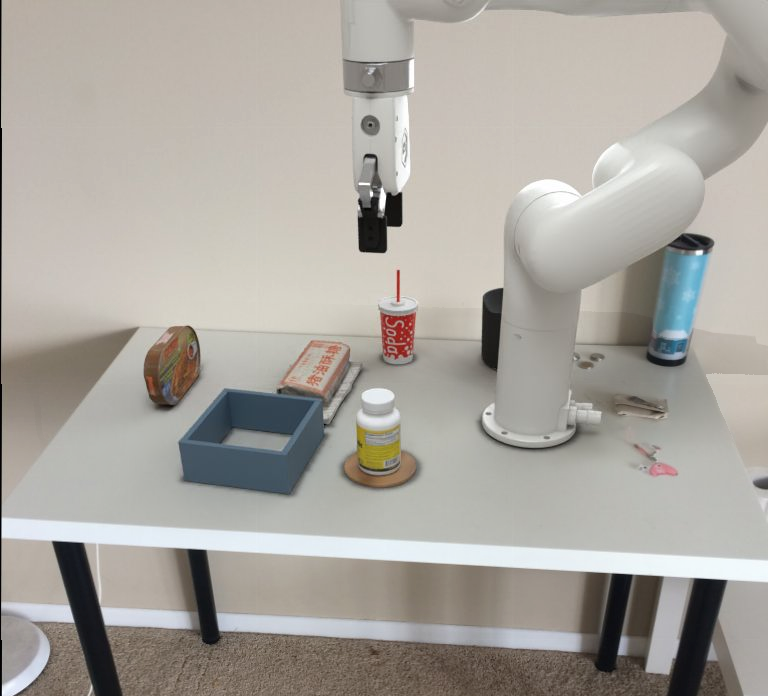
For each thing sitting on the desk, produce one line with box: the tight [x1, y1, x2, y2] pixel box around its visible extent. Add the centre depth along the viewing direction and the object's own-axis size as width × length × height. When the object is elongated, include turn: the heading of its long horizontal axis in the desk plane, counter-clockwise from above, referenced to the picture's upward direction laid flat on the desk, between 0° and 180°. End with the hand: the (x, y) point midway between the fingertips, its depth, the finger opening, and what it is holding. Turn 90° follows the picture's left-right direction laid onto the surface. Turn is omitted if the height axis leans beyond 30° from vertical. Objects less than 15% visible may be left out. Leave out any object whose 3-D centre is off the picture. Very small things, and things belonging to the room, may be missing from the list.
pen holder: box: [481, 287, 504, 370], centre depth 132 cm, size 9×9×10 cm
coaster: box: [343, 450, 417, 489], centre depth 109 cm, size 9×9×1 cm
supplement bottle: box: [355, 387, 402, 475], centre depth 106 cm, size 5×5×10 cm
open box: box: [177, 387, 325, 495], centre depth 110 cm, size 14×15×6 cm
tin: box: [143, 324, 202, 406], centre depth 125 cm, size 15×3×8 cm, turn 170°
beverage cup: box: [377, 269, 419, 365], centre depth 132 cm, size 6×6×14 cm
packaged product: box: [271, 339, 364, 425], centre depth 125 cm, size 18×5×10 cm
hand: (381, 238), depth 102 cm, fingers open, 9 cm apart
